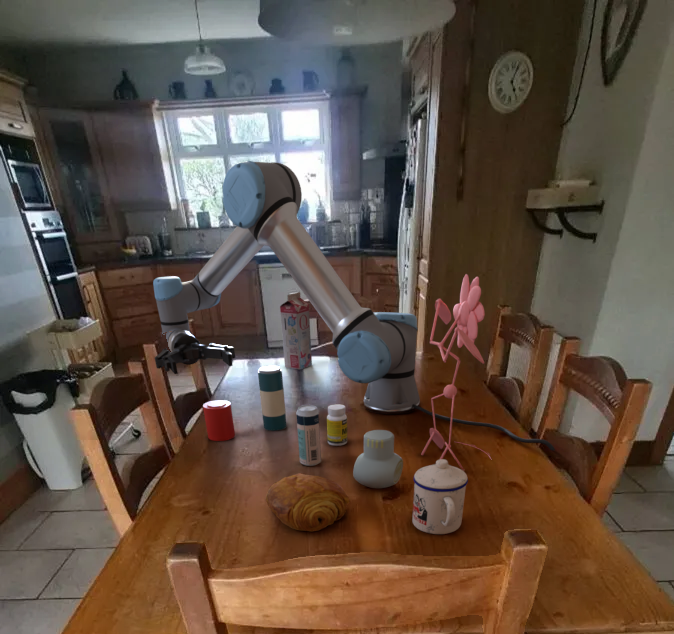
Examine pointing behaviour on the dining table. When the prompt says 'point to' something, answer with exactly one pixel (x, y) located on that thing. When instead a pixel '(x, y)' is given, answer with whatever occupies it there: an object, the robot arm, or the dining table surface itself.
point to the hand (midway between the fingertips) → (203, 364)
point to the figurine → (467, 330)
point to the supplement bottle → (336, 425)
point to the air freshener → (378, 461)
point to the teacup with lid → (439, 498)
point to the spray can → (272, 397)
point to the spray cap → (219, 420)
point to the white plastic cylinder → (308, 435)
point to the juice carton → (296, 332)
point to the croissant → (307, 501)
